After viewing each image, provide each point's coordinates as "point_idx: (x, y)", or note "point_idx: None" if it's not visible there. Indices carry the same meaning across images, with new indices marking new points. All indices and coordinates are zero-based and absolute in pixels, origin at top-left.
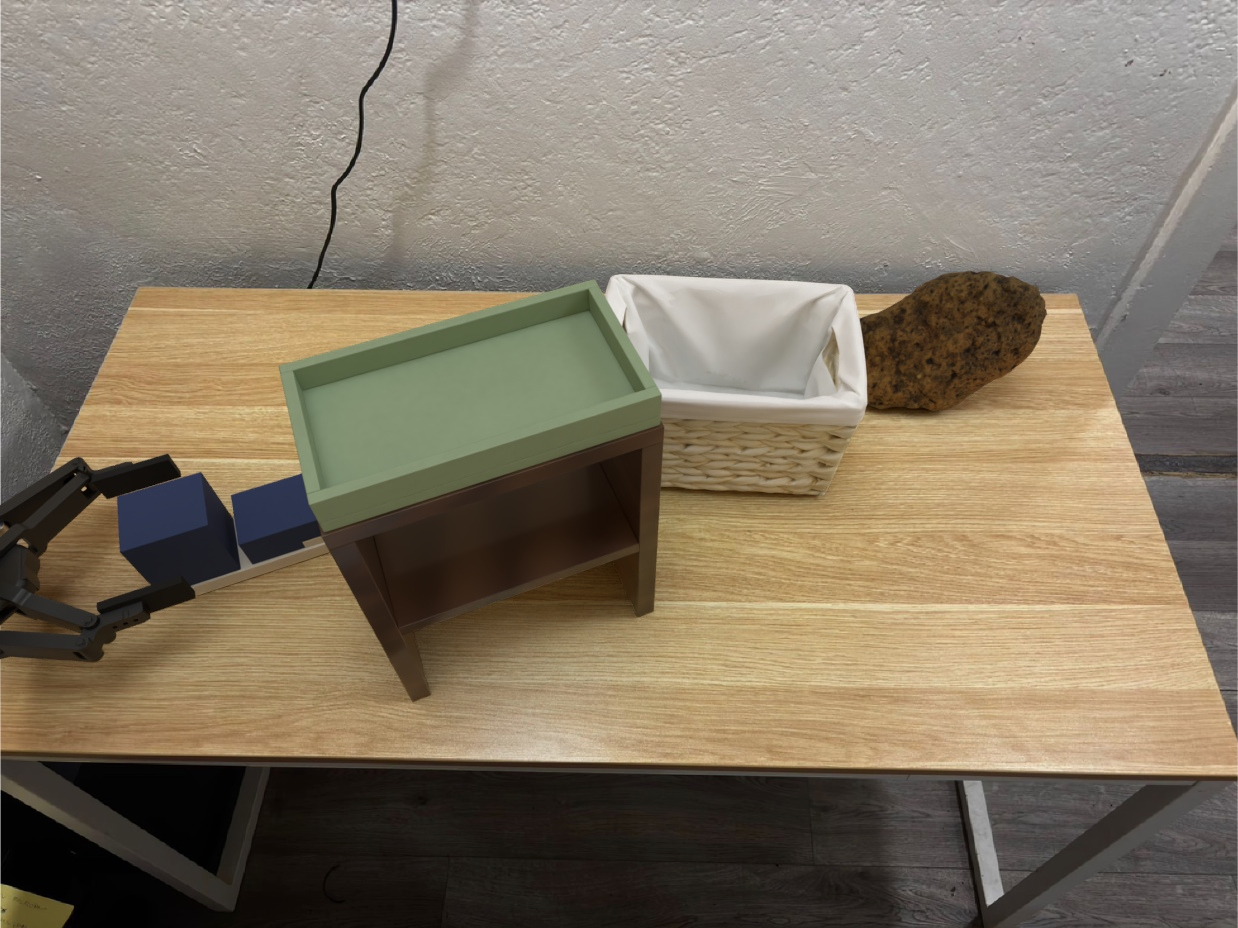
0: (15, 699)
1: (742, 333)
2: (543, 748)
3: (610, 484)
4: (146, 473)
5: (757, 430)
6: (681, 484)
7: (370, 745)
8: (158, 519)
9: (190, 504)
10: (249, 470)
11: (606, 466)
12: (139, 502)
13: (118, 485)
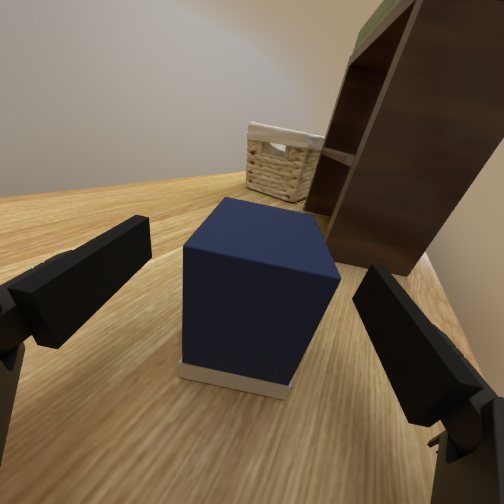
0: None
1: (279, 148)
2: (424, 255)
3: (355, 153)
4: (125, 250)
5: None
6: (306, 194)
7: (444, 301)
8: (283, 231)
9: (273, 212)
10: (151, 270)
11: (354, 143)
12: (229, 233)
13: (84, 292)
